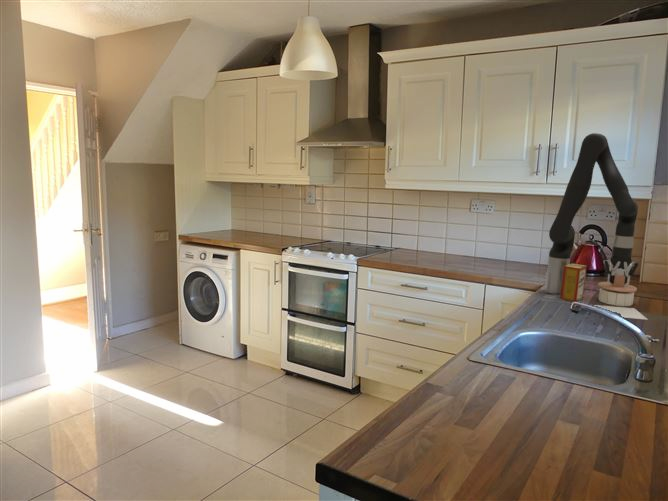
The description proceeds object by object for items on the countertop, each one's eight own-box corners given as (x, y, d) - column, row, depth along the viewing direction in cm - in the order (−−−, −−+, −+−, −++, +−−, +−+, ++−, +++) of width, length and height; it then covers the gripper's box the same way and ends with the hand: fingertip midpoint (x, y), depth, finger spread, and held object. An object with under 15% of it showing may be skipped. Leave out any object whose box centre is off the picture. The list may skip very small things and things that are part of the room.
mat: (603, 316, 202) (604, 315, 202) (593, 306, 217) (593, 304, 217) (647, 321, 198) (648, 319, 198) (634, 309, 213) (634, 308, 213)
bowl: (603, 305, 218) (605, 292, 217) (595, 298, 231) (597, 285, 230) (636, 308, 216) (638, 295, 214) (626, 300, 228) (628, 287, 227)
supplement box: (606, 292, 242) (610, 262, 239) (606, 288, 250) (610, 259, 247) (627, 295, 238) (632, 264, 235) (627, 291, 245) (631, 261, 243)
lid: (603, 290, 217) (605, 277, 215) (594, 282, 231) (595, 270, 230) (641, 293, 213) (643, 280, 212) (630, 285, 227) (631, 272, 226)
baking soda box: (575, 302, 222) (579, 267, 219) (560, 299, 226) (564, 265, 223) (582, 299, 228) (587, 264, 226) (568, 296, 233) (572, 262, 230)
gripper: (607, 246, 217) (602, 284, 220) (644, 248, 213) (638, 287, 216) (602, 243, 224) (597, 280, 227) (637, 245, 221) (632, 283, 224)
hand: (617, 283), depth 222 cm, fingers open, 4 cm apart
